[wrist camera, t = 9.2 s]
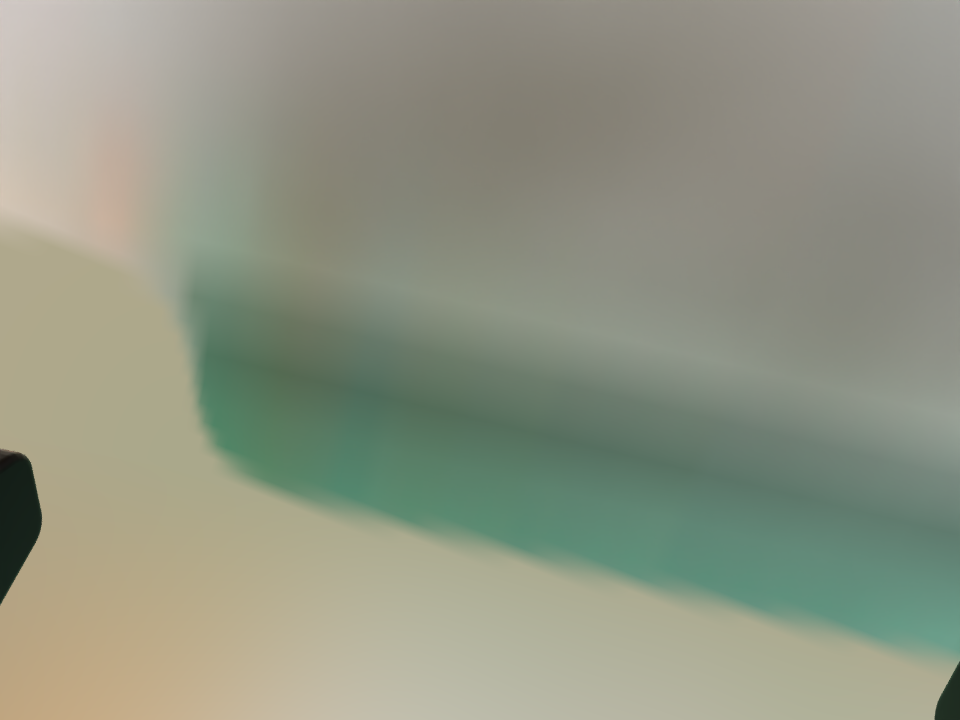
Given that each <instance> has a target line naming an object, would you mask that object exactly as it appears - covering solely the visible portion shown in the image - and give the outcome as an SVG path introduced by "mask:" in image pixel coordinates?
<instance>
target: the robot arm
mask: <svg viewBox="0 0 960 720" xmlns="http://www.w3.org/2000/svg"><path fill="white" fill-rule="evenodd" d="M41 525H42V513H41V508H40V503H39V499H38V494H37V489H36V484H35V479H34V475H33V470H32V465H31V462H30V461H29V459H28V458H27V457H26V456H25V455H23V454H21V453H19V452H14V451H9V450H4V449H0V604H1V603H2V601H3V599H4V598H5V596H6V594H7V592H8V591H9V589H10V587H11V585H12V583H13V582H14V580H15V578H16V576H17V575H18V573H19V571H20V569H21V567H22V566H23V564H24V562H25V560H26V559H27V557H28V555H29V553H30V552H31V550H32V548H33V546H34V545H35V543H36V541H37V538H38V536H39V533H40V530H41ZM935 720H960V662H959V664H958V665H957V667H956V669H955V671H954V673H953V674H952V676H951V678H950V680H949V682H948V684H947V685H946V687H945V689H944V691H943V693H942V694H941V696H940V698H939V701H938V703H937V707H936V711H935Z"/></svg>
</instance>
